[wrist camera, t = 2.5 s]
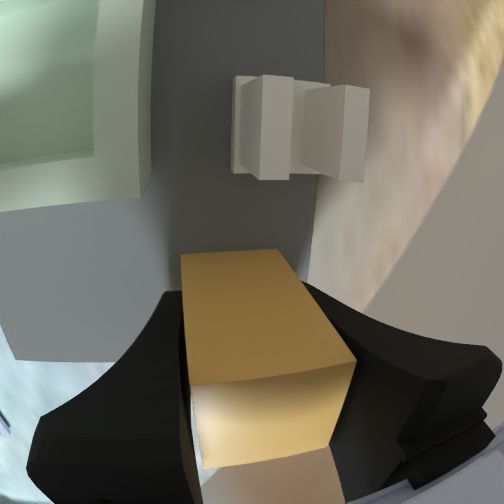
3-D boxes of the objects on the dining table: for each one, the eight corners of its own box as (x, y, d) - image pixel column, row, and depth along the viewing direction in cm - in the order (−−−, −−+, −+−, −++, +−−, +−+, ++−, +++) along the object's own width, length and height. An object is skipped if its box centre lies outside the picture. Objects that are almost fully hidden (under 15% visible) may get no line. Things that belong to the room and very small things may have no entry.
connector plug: (187, 334, 12) (203, 468, 7) (180, 254, 11) (189, 385, 6) (271, 326, 13) (327, 446, 8) (277, 248, 12) (357, 360, 6)
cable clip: (230, 170, 10) (252, 193, 7) (233, 77, 9) (256, 61, 6) (318, 171, 11) (366, 193, 8) (322, 85, 10) (375, 78, 7)
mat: (19, 351, 12) (15, 359, 11) (-7, -48, 4) (-13, -53, 4) (293, 338, 14) (298, 346, 14) (315, -75, 7) (321, -81, 7)
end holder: (-26, 195, 8) (-76, 224, 5) (-23, 13, 5) (-70, -4, 3) (151, 173, 10) (140, 197, 7) (159, -30, 7) (155, -79, 4)
